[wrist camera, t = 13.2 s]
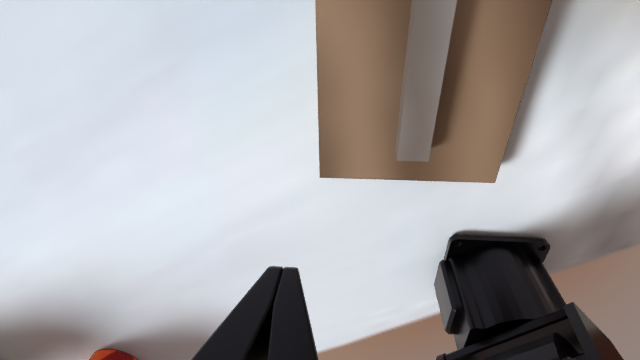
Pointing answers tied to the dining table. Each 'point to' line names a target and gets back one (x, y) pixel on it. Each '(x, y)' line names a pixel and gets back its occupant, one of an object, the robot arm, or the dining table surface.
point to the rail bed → (421, 85)
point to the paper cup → (111, 355)
